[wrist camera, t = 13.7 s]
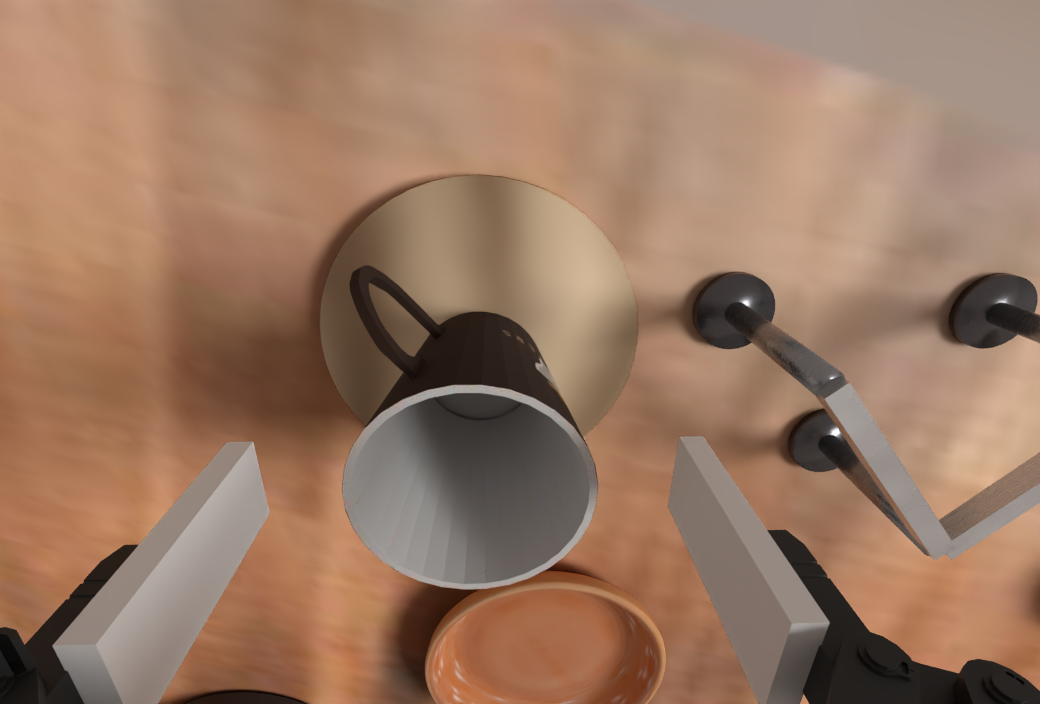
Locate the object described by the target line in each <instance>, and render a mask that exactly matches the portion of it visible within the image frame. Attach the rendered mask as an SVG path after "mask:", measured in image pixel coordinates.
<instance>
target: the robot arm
mask: <svg viewBox="0 0 1040 704" xmlns="http://www.w3.org/2000/svg"><path fill="white" fill-rule="evenodd" d="M668 508H669V510H670V512H671V514H672V516H673V519H674V521H675V523H676V525H677V527H678V529H679V532H680V534H681V536H682V538H683V540H684V542H685V545H686V547H687V549H688V551H689V553H690V556H691V558H692V560H693V562H694V564H695V566H696V569H697V571H698V573H699V575H700V577H701V579H702V582H703V584H704V586H705V588H706V590H707V593H708V595H709V597H710V599H711V601H712V603H713V606H714V608H715V610H716V612H717V614H718V616H719V619H720V621H721V623H722V625H723V627H724V629H725V632H726V634H727V636H728V638H729V640H730V643H731V645H732V647H733V649H734V651H735V653H736V656H737V658H738V660H739V662H740V664H741V666H742V669H743V671H744V673H745V675H746V677H747V680H748V682H749V684H750V686H751V688H752V690H753V693H754V695H755V697H756V699H757V701H758V703H759V704H800V702H801V699H802V697H803V694H804V695H805V697H806V698H807V700H808V702H809V704H1040V691H1039V690H1038V689H1037V688H1036V687H1035V686H1033V685H1032V684H1031V683H1030V682H1029V681H1028V680H1027V679H1025V678H1023V677H1022V676H1020V675H1019V674H1017V673H1016V672H1014V671H1013V670H1011V669H1009V668H1007V667H1004V666H1002V665H1000V664H997V663H995V662H992V661H987V660H981V659H976V660H971V661H968V662H967V663H966V664H965V665H964V666H963V668H962V670H961V671H960V673H955V672H951V671H947V670H943V669H939V668H935V667H931V666H927V665H923V664H920V663H917V662H914V661H912V660H911V658H910V657H909V656H908V655H907V654H906V653H905V652H904V651H903V650H902V649H901V648H900V647H898V646H897V645H896V644H894V643H893V642H891V641H889V640H888V639H886V638H884V637H883V636H880V635H877V634H874V633H871V632H870V631H869V630H868V629H867V628H866V626H865V625H864V624H863V622H862V621H861V620H860V618H859V617H858V616H857V614H856V613H855V612H854V610H853V609H852V608H851V606H850V605H849V604H848V602H847V601H846V600H845V598H844V597H843V596H842V594H841V593H840V592H839V590H838V589H837V588H836V586H835V585H834V583H833V582H832V581H831V579H828V578H827V574H826V573H825V571H824V570H823V569H822V567H821V566H820V565H818V564H817V561H816V559H815V558H814V557H813V555H812V554H811V553H810V551H809V550H808V549H807V547H806V546H805V545H804V544H803V543H802V542H801V541H799V540H798V539H797V538H795V537H794V536H793V535H792V534H790V533H789V532H788V531H786V530H767V529H766V528H765V527H764V525H763V524H762V522H761V521H760V519H759V518H758V516H757V515H756V513H755V512H754V510H753V509H752V507H751V506H750V504H749V503H748V501H747V500H746V499H745V497H744V496H743V494H742V493H741V491H740V490H739V488H738V487H737V485H736V484H735V482H734V481H733V479H732V478H731V476H730V475H729V474H728V472H727V471H726V469H725V468H724V466H723V465H722V463H721V462H720V460H719V459H718V457H717V456H716V454H715V453H714V451H713V450H712V449H711V447H710V446H709V444H708V443H707V441H706V440H705V438H704V437H703V436H683V437H679V441H678V447H677V453H676V459H675V466H674V472H673V478H672V484H671V490H670V496H669V502H668ZM269 514H270V513H269V508H268V504H267V500H266V495H265V491H264V486H263V482H262V478H261V473H260V469H259V465H258V460H257V456H256V452H255V447H254V443H253V442H227V443H226V444H225V445H224V446H223V447H222V449H221V450H220V451H219V452H218V453H217V454H216V456H215V457H214V458H213V459H212V460H211V461H210V463H209V464H208V465H207V466H206V467H205V468H204V470H203V471H202V472H201V473H200V474H199V475H198V477H197V478H196V479H195V480H194V481H193V482H192V484H191V485H190V486H189V487H188V488H187V489H186V491H185V492H184V493H183V494H182V495H181V496H180V498H179V499H178V500H177V501H176V502H175V503H174V505H173V506H172V507H171V508H170V509H169V510H168V512H167V513H166V514H165V515H164V516H163V517H162V519H161V520H160V521H159V522H158V523H157V524H156V526H155V527H154V528H153V529H152V530H151V531H150V532H149V534H148V535H147V536H146V537H145V538H144V539H143V541H142V542H141V543H140V544H139V545H124V546H122V547H121V548H120V549H118V550H117V551H115V552H114V553H112V554H111V555H109V556H108V557H107V558H105V559H104V560H102V561H101V562H100V563H99V564H98V565H97V566H96V567H95V569H94V570H93V571H92V572H91V573H90V574H89V575H88V576H87V577H86V578H85V580H84V583H83V584H80V585H79V586H78V587H77V588H76V589H75V590H74V592H73V593H72V594H71V595H70V598H69V600H65V601H64V603H63V604H62V605H61V606H60V607H59V608H58V609H57V610H56V611H55V612H54V613H53V615H52V616H51V617H50V618H49V619H48V620H47V621H46V622H45V623H44V624H43V626H42V627H41V628H40V629H39V630H38V631H37V632H36V633H35V634H34V635H33V636H32V638H31V639H30V640H29V641H28V642H27V643H26V644H25V645H24V643H23V641H22V640H21V638H20V636H19V634H18V632H17V630H14V629H11V628H7V627H3V628H0V704H158V703H159V701H160V699H161V698H162V696H163V694H164V692H165V691H166V689H167V687H168V686H169V684H170V682H171V681H172V679H173V677H174V675H175V674H176V672H177V670H178V669H179V667H180V665H181V664H182V662H183V660H184V658H185V657H186V655H187V653H188V652H189V650H190V648H191V646H192V645H193V643H194V641H195V640H196V638H197V636H198V635H199V633H200V631H201V629H202V628H203V626H204V624H205V623H206V621H207V619H208V618H209V616H210V614H211V612H212V611H213V609H214V607H215V606H216V604H217V602H218V601H219V599H220V597H221V595H222V594H223V592H224V590H225V589H226V587H227V585H228V583H229V582H230V580H231V578H232V577H233V575H234V573H235V572H236V570H237V568H238V566H239V565H240V563H241V561H242V560H243V558H244V556H245V555H246V553H247V551H248V549H249V548H250V546H251V544H252V543H253V541H254V539H255V538H256V536H257V534H258V532H259V531H260V529H261V527H262V526H263V524H264V522H265V520H266V519H267V517H268V515H269ZM185 704H303V703H301V702H298V701H295V700H292V699H288V698H285V697H280V696H276V695H270V694H263V693H252V692H232V693H221V694H215V695H209V696H205V697H201V698H198V699H195V700H192V701H189V702H187V703H185Z"/></svg>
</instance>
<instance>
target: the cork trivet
mask: <svg viewBox="0 0 1040 704" xmlns="http://www.w3.org/2000/svg"><path fill="white" fill-rule="evenodd" d="M365 265H368V266H372V267H374V268H376V269H377V270H379V271H381V272H382V273H384V274H385V275H386V276H388V277H389V278H390V279H391V280H393V281H394V282H395V283H396V284H398V285H399V286H400V287H401V288H402V289H403V290H404V291H405V292H406V293H407V294H408V295H409V296H410V297H411V298H412V299H413V300H414V301H415V302H416V303H417V304H418V305H419V306H420V307H421V308H422V309H423V310H424V311H425V312H426V313H427V314H428V315H429V316H430V317H431V318H432V319H433V320H434V321H435V322H436V323H437V324H438V325H440V324H441V323H443V322H444V321H446V320H447V319H449V318H452V317H454V316H457V315H459V314H463V313H468V312H490V313H496V314H499V315H502V316H505V317H507V318H510V319H511V320H513V321H514V322H516V323H518V324H519V325H520V326H521V327H523V328H524V329H525V330H526V331H527V332H528V333H529V335H530V336H531V337H532V339H533V340H534V342H535V343H536V345H537V347H538V349H539V351H540V353H541V355H542V357H543V359H544V361H545V363H546V365H547V367H548V369H549V371H550V373H551V375H552V377H553V379H554V381H555V383H556V385H557V387H558V389H559V391H560V393H561V395H562V397H563V399H564V401H565V403H566V405H567V407H568V409H569V411H570V413H571V415H572V417H573V419H574V421H575V422H576V424H577V426H578V428H579V430H580V432H581V434H582V436H583V437H584V436H585V435H586V434H587V433H588V432H589V431H590V430H592V429H593V428H594V427H595V426H596V425H597V424H598V423H599V422H600V421H601V420H602V418H603V417H604V416H605V415H606V414H607V412H608V411H609V410H610V409H611V407H612V406H613V404H614V403H615V401H616V400H617V398H618V397H619V395H620V393H621V391H622V389H623V387H624V385H625V383H626V381H627V379H628V376H629V373H630V370H631V367H632V364H633V361H634V356H635V351H636V346H637V336H638V316H637V306H636V300H635V296H634V292H633V288H632V284H631V281H630V279H629V276H628V274H627V271H626V269H625V266H624V264H623V262H622V261H621V259H620V257H619V255H618V254H617V252H616V250H615V248H614V247H613V246H612V244H611V243H610V242H609V240H608V239H607V238H606V236H605V235H604V234H603V233H602V231H601V230H600V229H599V228H598V227H597V226H596V225H595V224H594V223H593V222H592V221H591V220H590V219H589V218H587V217H586V216H585V215H584V214H583V213H582V212H581V211H580V210H578V209H577V208H575V207H574V206H573V205H571V204H570V203H569V202H567V201H566V200H564V199H563V198H561V197H559V196H557V195H555V194H553V193H551V192H550V191H548V190H546V189H543V188H541V187H538V186H535V185H533V184H530V183H527V182H525V181H520V180H516V179H511V178H507V177H502V176H490V175H464V176H453V177H448V178H443V179H438V180H434V181H431V182H428V183H425V184H422V185H419V186H416V187H414V188H411V189H409V190H408V191H406V192H404V193H402V194H400V195H398V196H396V197H394V198H392V199H391V200H389V201H388V202H387V203H385V204H384V205H382V206H381V207H380V208H378V209H377V210H375V211H374V212H373V213H371V214H370V215H369V216H368V217H367V218H366V219H365V220H364V221H363V222H362V223H361V224H360V225H359V226H358V227H357V228H356V229H355V230H354V231H353V233H352V234H351V235H350V237H349V238H348V239H347V241H346V242H345V243H344V244H343V246H342V248H341V249H340V251H339V253H338V255H337V257H336V258H335V260H334V262H333V264H332V266H331V269H330V272H329V274H328V277H327V280H326V282H325V286H324V291H323V296H322V300H321V309H320V334H321V344H322V348H323V353H324V357H325V362H326V364H327V367H328V370H329V372H330V375H331V378H332V380H333V382H334V384H335V386H336V388H337V389H338V391H339V393H340V395H341V397H342V398H343V400H344V401H345V402H346V404H347V405H348V407H349V408H350V409H351V411H352V412H353V413H354V414H355V415H356V417H357V418H358V419H359V420H360V421H361V422H362V423H363V424H364V425H365V426H366V425H367V424H368V422H369V421H370V419H371V418H372V417H373V415H374V414H375V412H376V411H377V409H378V408H379V406H380V405H381V404H382V402H383V401H384V399H385V398H386V396H387V395H388V394H389V392H390V391H391V389H392V388H393V386H394V385H395V383H396V382H397V381H398V379H399V378H400V376H401V375H402V373H403V371H401V370H400V369H399V368H398V367H397V366H396V365H395V364H393V362H392V361H391V360H389V359H388V358H387V357H386V356H385V355H384V354H383V353H382V352H381V351H380V350H379V349H378V347H377V346H376V344H375V343H374V341H373V340H372V338H371V337H370V334H369V333H368V331H367V330H366V328H365V326H364V324H363V322H362V320H361V318H360V316H359V314H358V312H357V310H356V307H355V305H354V302H353V298H352V296H351V292H350V285H349V283H350V279H351V275H352V272H353V271H355V270H356V269H358V268H360V267H362V266H365ZM369 293H370V296H371V300H372V302H373V305H374V307H375V310H376V312H377V314H378V317H379V319H380V320H381V322H382V324H383V326H384V327H385V329H386V330H387V331H388V333H389V334H390V336H391V337H392V338H393V339H394V340H395V342H396V343H397V344H398V345H399V347H400V348H401V349H402V350H403V351H405V352H406V353H407V354H408V355H410V356H413V357H414V356H415V355H416V353H417V352H418V350H419V349H420V348H421V346H422V345H423V343H424V342H425V340H426V339H427V338H428V336H429V335H430V333H429V332H428V331H427V330H426V329H425V328H424V327H423V326H422V325H421V324H420V323H419V322H418V321H417V320H416V319H415V318H414V317H413V316H412V315H411V314H410V313H408V312H407V311H406V310H405V309H404V308H403V307H402V306H401V305H400V304H399V303H398V302H397V301H396V300H395V299H394V298H393V297H391V296H390V295H389V294H388V293H387V292H385V291H383V290H382V289H380V288H378V287H376V286H375V285H373V284H371V283H369Z"/></svg>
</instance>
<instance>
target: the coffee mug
mask: <svg viewBox="0 0 1040 704" xmlns="http://www.w3.org/2000/svg"><path fill="white" fill-rule="evenodd" d="M369 283H371V284H373V285H375V286H376V287H378V288H380V289H382V290H383V291H385V292H387V293H388V294H389V295H390V296H391V297H393V298H394V299H395V300H396V301H397V302H398V303H399V304H400V305H401V306H402V307H403V308H404V309H405V310H406V311H407V312H408V313H410V314H411V315H412V316H413V317H414V318H415V319H416V320H417V321H418V322H419V323H420V324H421V325H422V326H423V327H424V328H425V329H426V330H427V331H428V332H429V333H430V335H429V336H428V338H427V339H426V340H425V342H424V343H423V345H422V346H421V348H420V349H419V350H418V352H417V353H416V355H415V356H414V357H413V356H410V355H408V354H407V353H406V352H405V351H403V350H402V349H401V348H400V347H399V345H398V344H397V343H396V342H395V340H394V339H393V338H392V337H391V336H390V334H389V333H388V331H387V330H386V329H385V327H384V326H383V324H382V322H381V320H380V319H379V317H378V314H377V312H376V310H375V307H374V305H373V302H372V300H371V296H370V293H369ZM349 285H350V292H351V296H352V298H353V302H354V305H355V307H356V310H357V312H358V314H359V316H360V318H361V320H362V322H363V324H364V326H365V328H366V330H367V331H368V333H369V334H370V337H371V338H372V340H373V341H374V343H375V344H376V346H377V347H378V349H379V350H380V351H381V352H382V353H383V354H384V355H385V356H386V357H387V358H388V359H389V360H391V361H392V362H393V364H395V365H396V366H397V367H398V368H399V369H400V370H401V371H403V373H402V375H401V376H400V378H399V379H398V381H397V382H396V383H395V385H394V386H393V388H392V389H391V391H390V392H389V394H388V395H387V396H386V398H385V399H384V401H383V402H382V404H381V405H380V406H379V408H378V409H377V411H376V412H375V414H374V415H373V417H372V418H371V419H370V421H369V422H368V424H367V425H366V427H365V428H364V429H363V431H362V433H361V434H360V436H359V437H358V439H357V440H356V442H355V443H354V445H353V446H352V448H351V450H350V453H349V456H348V458H347V461H346V464H345V467H344V472H343V484H342V493H343V499H344V505H345V510H346V513H347V515H348V518H349V520H350V522H351V525H352V527H353V529H354V531H355V532H356V533H357V535H358V536H359V538H360V539H361V540H362V542H363V543H364V545H365V546H366V547H367V548H368V549H369V550H370V551H371V552H372V553H373V554H375V555H376V556H377V557H378V558H379V559H380V560H381V561H383V562H384V563H386V564H387V565H389V566H390V567H392V568H393V569H395V570H396V571H398V572H400V573H402V574H404V575H406V576H409V577H411V578H413V579H416V580H418V581H421V582H424V583H428V584H432V585H436V586H439V587H446V588H455V589H463V590H466V589H489V588H495V587H500V586H506V585H510V584H513V583H516V582H519V581H523V580H526V579H529V578H531V577H533V576H535V575H537V574H539V573H541V572H543V571H545V570H546V569H548V568H550V567H551V566H553V565H554V564H555V563H557V562H558V561H559V560H561V559H562V558H563V557H565V556H566V555H567V554H568V553H569V552H570V551H571V549H572V548H573V547H574V546H575V545H576V544H577V543H578V542H579V541H580V539H581V538H582V536H583V534H584V533H585V531H586V529H587V528H588V526H589V524H590V522H591V519H592V516H593V513H594V510H595V507H596V504H597V493H598V480H597V474H596V467H595V463H594V461H593V458H592V456H591V454H590V451H589V449H588V446H587V444H586V442H585V440H584V438H583V436H582V434H581V432H580V430H579V428H578V426H577V424H576V422H575V421H574V419H573V417H572V415H571V413H570V411H569V409H568V407H567V405H566V403H565V401H564V399H563V397H562V395H561V393H560V391H559V389H558V387H557V385H556V383H555V381H554V379H553V377H552V375H551V373H550V371H549V369H548V367H547V365H546V363H545V361H544V359H543V357H542V355H541V353H540V351H539V349H538V347H537V345H536V343H535V342H534V340H533V339H532V337H531V336H530V335H529V333H528V332H527V331H526V330H525V329H524V328H523V327H521V326H520V325H519V324H518V323H516V322H514V321H513V320H511V319H510V318H507V317H505V316H502V315H499V314H496V313H490V312H468V313H463V314H459V315H457V316H454V317H452V318H449V319H447V320H446V321H444V322H443V323H441V324H440V325H438V324H437V323H436V322H435V321H434V320H433V319H432V318H431V317H430V316H429V315H428V314H427V313H426V312H425V311H424V310H423V309H422V308H421V307H420V306H419V305H418V304H417V303H416V302H415V301H414V300H413V299H412V298H411V297H410V296H409V295H408V294H407V293H406V292H405V291H404V290H403V289H402V288H401V287H400V286H399V285H398V284H396V283H395V282H394V281H393V280H391V279H390V278H389V277H388V276H386V275H385V274H384V273H382V272H381V271H379V270H377V269H376V268H374V267H372V266H368V265H365V266H362V267H360V268H358V269H356V270H355V271H353V272H352V275H351V279H350V283H349Z"/></svg>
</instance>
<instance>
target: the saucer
mask: <svg viewBox="0 0 1040 704" xmlns="http://www.w3.org/2000/svg"><path fill="white" fill-rule="evenodd" d="M665 662H666V653H665V647H664V643H663V639H662V637H661V634H660V632H659V630H658V628H657V626H656V624H655V622H654V620H653V619H652V617H651V616H650V614H649V613H648V611H647V610H646V609H645V608H644V607H643V606H642V605H641V604H640V603H639V602H638V601H637V600H636V599H634V598H633V597H632V596H630V595H629V594H628V593H626V592H625V591H623V590H621V589H619V588H618V587H616V586H614V585H611V584H609V583H607V582H604V581H601V580H599V579H596V578H593V577H589V576H586V575H582V574H576V573H570V572H561V571H543V572H541V573H539V574H537V575H535V576H533V577H531V578H529V579H526V580H523V581H519V582H516V583H513V584H510V585H506V586H500V587H495V588H489V589H479V590H477V591H475V592H474V593H472V594H471V595H469V596H467V597H466V598H464V599H463V600H461V601H460V602H459V603H458V604H457V605H455V606H454V607H453V608H452V609H451V610H450V611H449V612H448V613H447V614H446V615H445V616H444V618H443V619H442V620H441V622H440V623H439V624H438V626H437V628H436V630H435V631H434V633H433V636H432V638H431V641H430V645H429V648H428V651H427V655H426V660H425V678H426V683H427V687H428V689H429V692H430V694H431V696H432V698H433V700H434V701H435V703H436V704H648V702H649V701H650V700H651V698H652V697H653V696H654V694H655V693H656V691H657V689H658V687H659V685H660V683H661V681H662V678H663V675H664V670H665Z"/></svg>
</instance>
